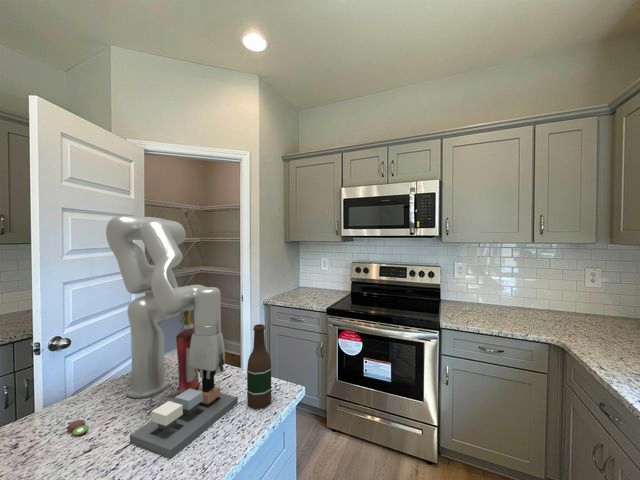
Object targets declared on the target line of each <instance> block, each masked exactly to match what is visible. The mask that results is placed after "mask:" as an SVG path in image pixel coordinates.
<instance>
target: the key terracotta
mask: <svg viewBox="0 0 640 480" xmlns="http://www.w3.org/2000/svg"><path fill="white" fill-rule="evenodd" d="M197 390H198V391H202V387H200V388H198V389H197ZM202 392H203V391H202ZM220 393H221V387H220V386H218V385H214V388H213V389H211V390H210V391H208V392H203V401H202V402H200V406H203V407H207V408H209V407H210V406H212V405H213V404H214V403H215V399H216V398H217V397H219V396H220Z"/></svg>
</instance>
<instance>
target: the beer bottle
mask: <svg viewBox="0 0 640 480" xmlns="http://www.w3.org/2000/svg"><path fill="white" fill-rule="evenodd" d="M252 330H253V348H252V352H251V353H250V355H249V357H248V360H247V367H246V368H247V369H246V372H247V373H246V376H247V378H246V387H247V388H246V391H247V397H246V400H247V407H249V408H251V409H253V410H260V409H261V410H262V409H265V408H267V407H268V406H269V405H271V404H272V361H271V356H270V354H269V352H268V351H267V349H266V343H265V342H266V339H265V330H266V327H265V324H261V323H259V324H258V323H257V324H255V325H254V326H253V329H252Z"/></svg>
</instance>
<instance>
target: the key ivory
mask: <svg viewBox="0 0 640 480" xmlns="http://www.w3.org/2000/svg"><path fill="white" fill-rule="evenodd" d="M181 415H183V405H181V404H178V403H175V401H170V400H168V401H166V402H164V403H163V404H161V405H160V406H158V407H156V408H155V409H154V410H152V411H151V421H152V422H155V423H158V428H160V429H163V430H166V431H167V430H168V429H170V428H171V427H173V426H174V425H175V424H177V418H178V417H180V416H181Z"/></svg>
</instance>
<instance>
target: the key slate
mask: <svg viewBox="0 0 640 480" xmlns="http://www.w3.org/2000/svg"><path fill="white" fill-rule="evenodd" d="M198 390H199V389H197V390H194V389H190V388H189V389H188V390H186V391H184V392H183V393H179V394H178V395H176V396H175V397H174V403H178V404H181V405H183V413H185V414H188V415H189V414H191V413H192V412H194V411H195V410H196V409H198V404H199V403H200V402H202V401H203V392H202V391H198Z"/></svg>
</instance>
